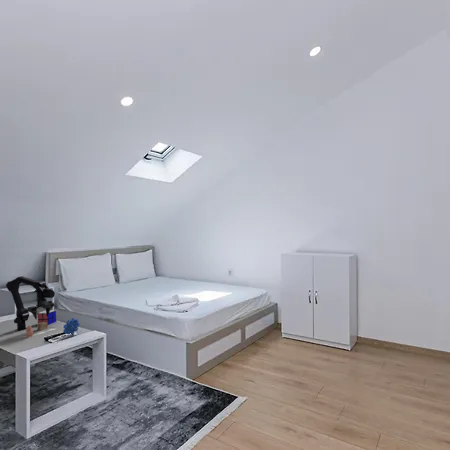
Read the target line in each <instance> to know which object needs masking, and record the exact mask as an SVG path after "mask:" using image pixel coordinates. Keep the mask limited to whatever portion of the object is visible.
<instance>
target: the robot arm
mask: <svg viewBox="0 0 450 450" xmlns="http://www.w3.org/2000/svg"><path fill="white" fill-rule="evenodd" d="M21 284H25V285H26V286H27V285H28V286H31V287H32V288H33V289H35V290H34V291H33V292H34V293H36V299H35V301H36V305H35V306H33V305H32V306H28V307H27V308H25V306H24V304H23V301H22V297H21V294H20V292H19V290H20V285H21ZM5 287H6V288H7V290H8V292H10V293H11V296H12V299H13V302H14V306H15V307H16V314H15V315H16V317H15V318H14V320H13V322H14V324H16V328H15V331H19V332H20V331H21V332H22V331H26V330H27V325H26V321H28V319H29V318H30V314H32V316H33V317H34V319H35V320H38V315H37V312H38V310H40V309H45V310H46V315H47V316H48V315H49V312H50V310H52V309H53V308H54V307H55V305H56V304H55V302H53V300H47V299H53V298H54V297H55V295H56V293H55V291H54V289H53V288H50V287H49V286H48V284H47V283H46V281H45V280H34V279H32V278H29V277H25V276H17V277H16V278H13V279H12V280H11V281H7V282H6V285H5Z"/></svg>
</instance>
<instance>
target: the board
mask: <svg viewBox="0 0 450 450" xmlns="http://www.w3.org/2000/svg"><path fill="white" fill-rule="evenodd" d="M55 330H56V327H53V328H49V329H45V330H42V331H39V332H37V333H34V334H33V336H32V337H35V336H39V335H43V334H46V333H48V332H50V331H55ZM32 337H26V338H32Z"/></svg>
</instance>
